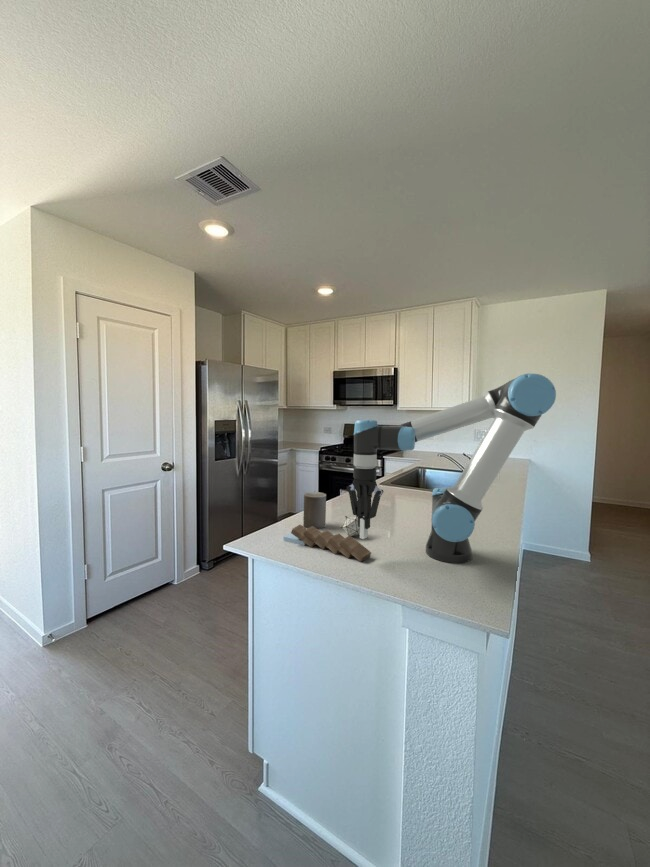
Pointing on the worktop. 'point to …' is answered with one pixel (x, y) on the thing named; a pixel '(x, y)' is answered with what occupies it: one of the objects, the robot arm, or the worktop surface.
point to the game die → (351, 526)
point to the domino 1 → (293, 539)
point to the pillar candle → (314, 510)
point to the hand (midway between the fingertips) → (363, 537)
